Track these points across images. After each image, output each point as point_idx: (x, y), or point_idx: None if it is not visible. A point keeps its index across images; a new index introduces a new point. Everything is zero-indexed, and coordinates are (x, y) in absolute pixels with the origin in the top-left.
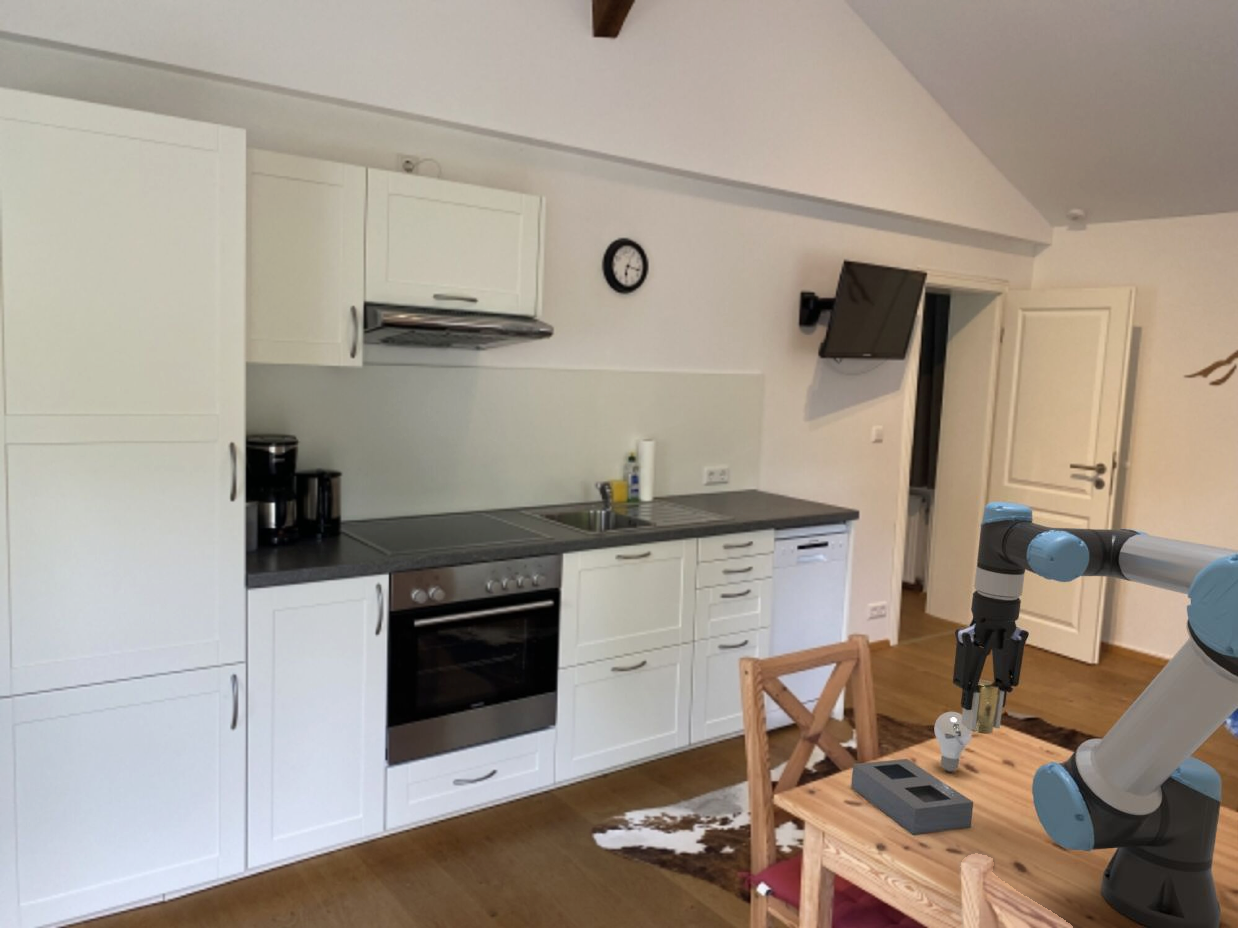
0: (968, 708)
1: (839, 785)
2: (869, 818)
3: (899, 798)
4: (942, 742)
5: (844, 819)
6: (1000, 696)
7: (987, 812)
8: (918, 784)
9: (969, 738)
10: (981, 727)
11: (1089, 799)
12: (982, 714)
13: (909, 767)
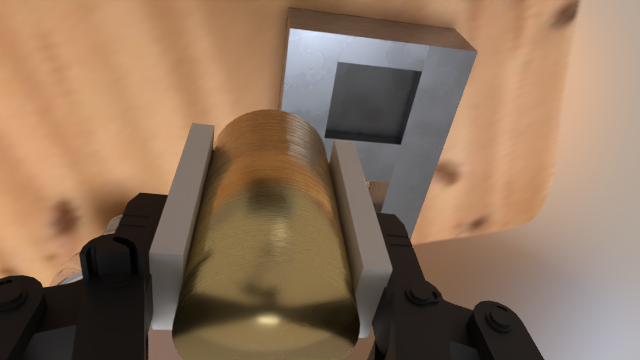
0: (387, 217)
1: None
2: (474, 116)
3: (455, 110)
4: None
5: (522, 128)
6: (185, 231)
7: (183, 50)
8: None
9: (78, 257)
10: (310, 135)
11: None
12: (318, 172)
13: None
